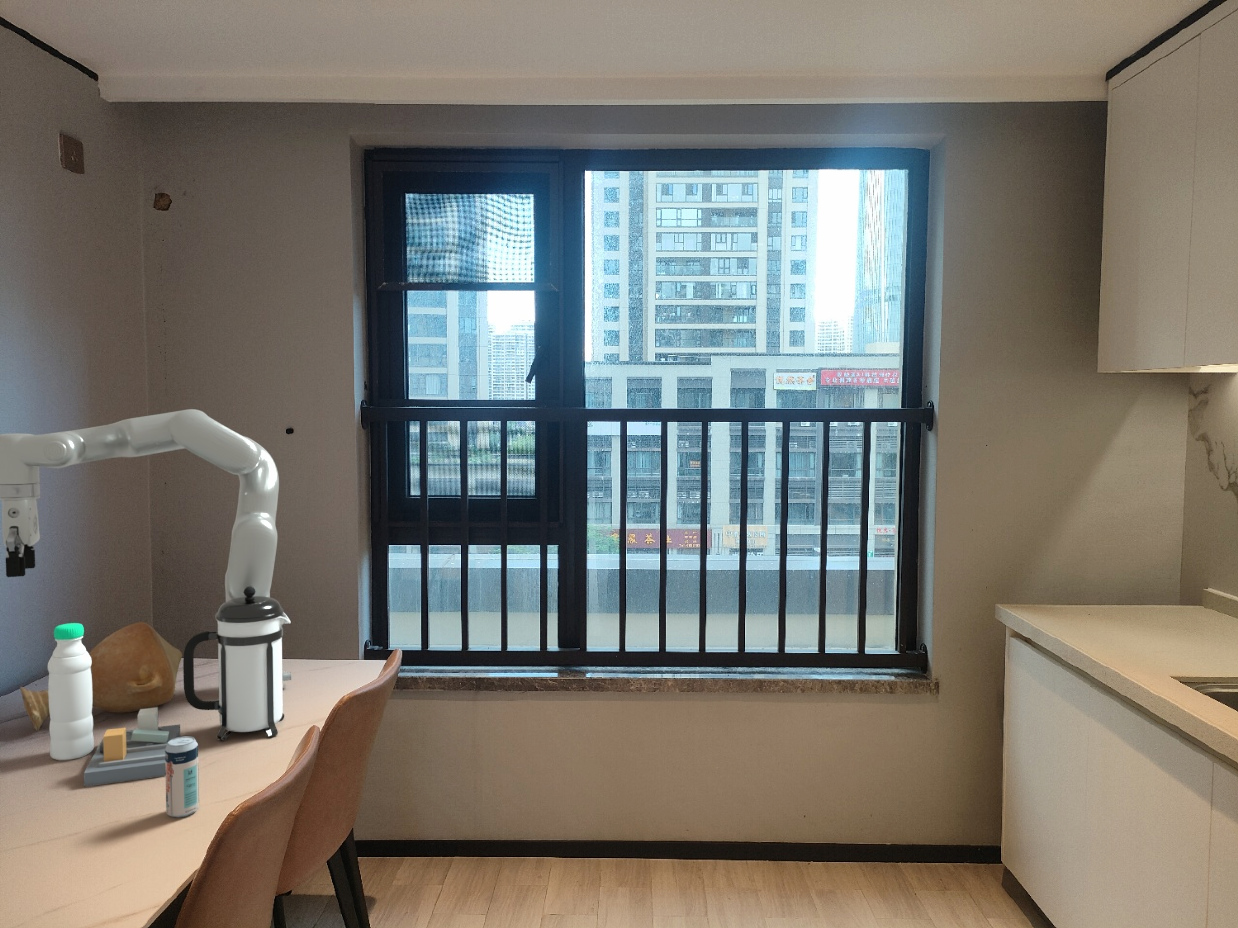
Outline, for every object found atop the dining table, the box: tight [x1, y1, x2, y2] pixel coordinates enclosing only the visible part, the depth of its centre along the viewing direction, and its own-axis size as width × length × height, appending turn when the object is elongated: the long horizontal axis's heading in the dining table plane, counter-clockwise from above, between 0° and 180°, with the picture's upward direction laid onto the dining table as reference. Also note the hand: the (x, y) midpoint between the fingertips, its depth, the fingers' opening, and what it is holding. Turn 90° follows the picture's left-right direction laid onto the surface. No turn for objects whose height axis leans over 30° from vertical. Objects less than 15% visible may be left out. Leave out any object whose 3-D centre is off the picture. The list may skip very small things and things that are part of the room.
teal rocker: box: [131, 728, 169, 743], centre depth 160 cm, size 6×2×1 cm, turn 112°
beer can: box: [165, 735, 200, 818], centre depth 138 cm, size 5×5×12 cm
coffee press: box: [182, 586, 291, 742], centre depth 173 cm, size 17×16×30 cm
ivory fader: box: [137, 706, 159, 731], centre depth 164 cm, size 3×4×5 cm
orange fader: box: [102, 727, 127, 762], centre depth 153 cm, size 3×4×5 cm
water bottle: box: [47, 622, 95, 761], centre depth 160 cm, size 7×7×25 cm
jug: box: [19, 621, 183, 732], centre depth 181 cm, size 20×19×30 cm
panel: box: [83, 724, 181, 787], centre depth 159 cm, size 13×20×4 cm, turn 22°
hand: (21, 572), depth 179 cm, fingers open, 9 cm apart
